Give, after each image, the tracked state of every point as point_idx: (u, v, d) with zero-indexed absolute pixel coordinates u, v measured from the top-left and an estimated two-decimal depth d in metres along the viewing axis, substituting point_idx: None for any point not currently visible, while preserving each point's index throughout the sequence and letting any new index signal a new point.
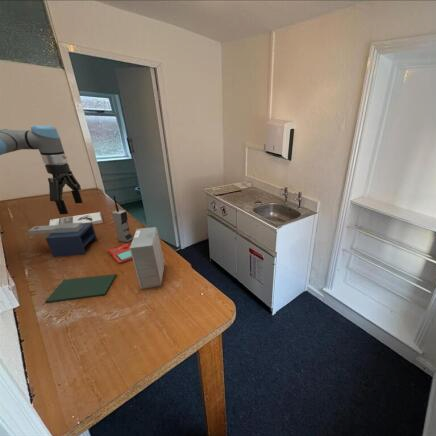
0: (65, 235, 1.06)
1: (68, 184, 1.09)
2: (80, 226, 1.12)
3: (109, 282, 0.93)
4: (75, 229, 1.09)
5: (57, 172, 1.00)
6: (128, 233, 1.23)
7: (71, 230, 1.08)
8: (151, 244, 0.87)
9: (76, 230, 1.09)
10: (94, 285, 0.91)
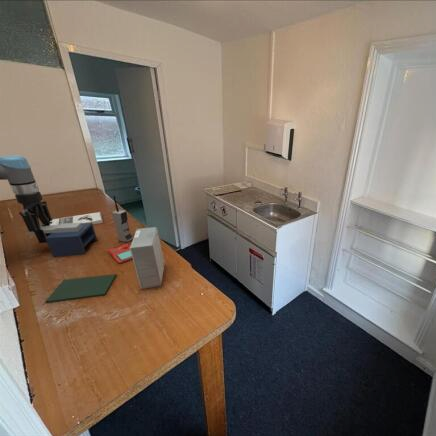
0: (65, 235, 1.06)
1: (39, 215, 1.06)
2: (80, 226, 1.12)
3: (109, 282, 0.93)
4: (75, 229, 1.09)
5: (28, 201, 0.98)
6: (128, 233, 1.23)
7: (71, 230, 1.08)
8: (151, 244, 0.87)
9: (76, 230, 1.09)
10: (94, 285, 0.91)
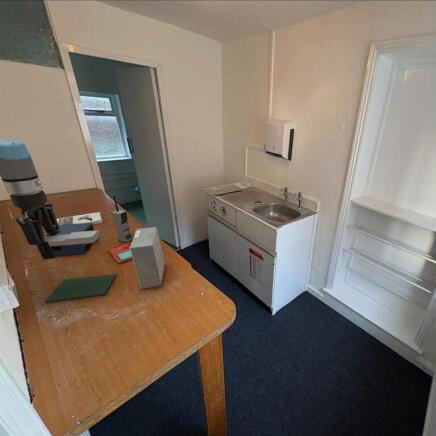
0: None
1: (43, 222, 0.79)
2: (96, 235, 0.85)
3: (109, 282, 0.93)
4: (90, 239, 0.82)
5: (28, 204, 0.71)
6: (128, 233, 1.23)
7: (85, 241, 0.82)
8: (151, 244, 0.87)
9: (92, 241, 0.82)
10: (94, 285, 0.91)
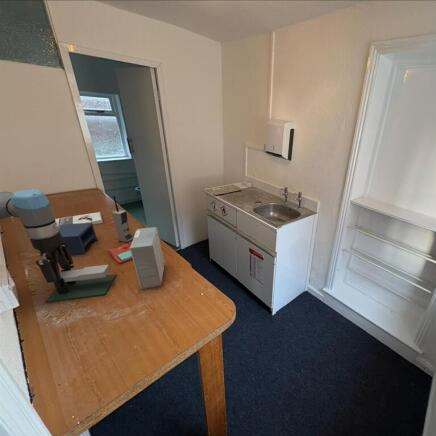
0: (65, 235, 1.06)
1: (58, 260, 0.86)
2: (107, 269, 0.91)
3: (109, 282, 0.93)
4: (102, 274, 0.88)
5: (46, 247, 0.78)
6: (128, 233, 1.23)
7: (97, 276, 0.88)
8: (151, 244, 0.87)
9: (103, 276, 0.89)
10: (94, 285, 0.91)
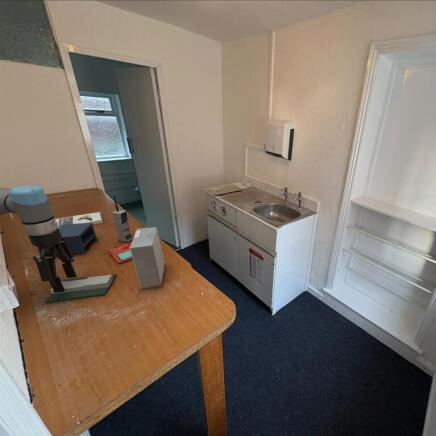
0: (65, 235, 1.06)
1: (58, 255, 0.86)
2: (110, 280, 0.93)
3: None
4: (105, 285, 0.90)
5: (45, 243, 0.77)
6: (128, 233, 1.23)
7: (101, 286, 0.90)
8: (151, 244, 0.87)
9: (106, 286, 0.91)
10: None
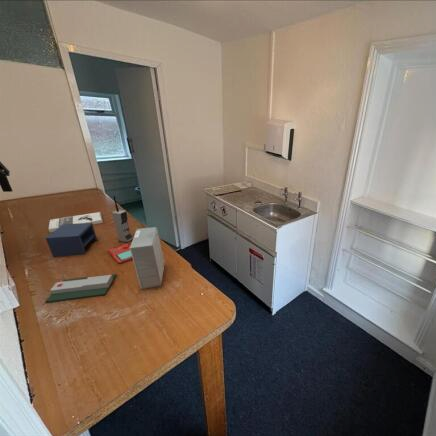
0: (65, 235, 1.06)
1: None
2: (110, 280, 0.93)
3: None
4: (105, 285, 0.90)
5: None
6: (128, 233, 1.23)
7: (101, 286, 0.90)
8: (151, 244, 0.87)
9: (106, 286, 0.91)
10: None
